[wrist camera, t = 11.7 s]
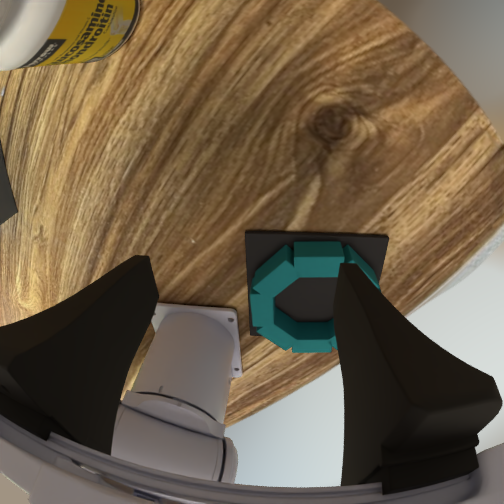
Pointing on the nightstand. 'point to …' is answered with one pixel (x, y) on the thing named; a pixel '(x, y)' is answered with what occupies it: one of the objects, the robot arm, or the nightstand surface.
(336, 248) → the ring
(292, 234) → the mat
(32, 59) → the pill bottle
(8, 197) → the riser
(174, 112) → the nightstand surface
